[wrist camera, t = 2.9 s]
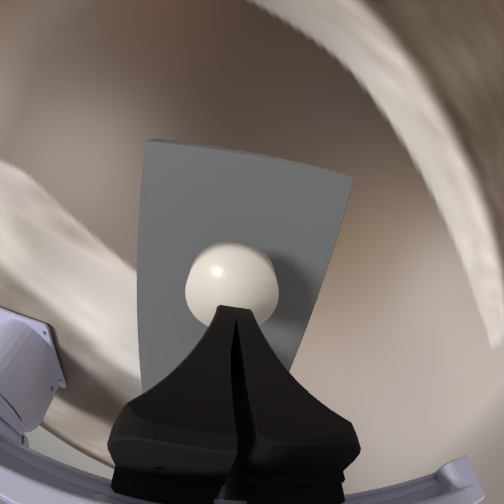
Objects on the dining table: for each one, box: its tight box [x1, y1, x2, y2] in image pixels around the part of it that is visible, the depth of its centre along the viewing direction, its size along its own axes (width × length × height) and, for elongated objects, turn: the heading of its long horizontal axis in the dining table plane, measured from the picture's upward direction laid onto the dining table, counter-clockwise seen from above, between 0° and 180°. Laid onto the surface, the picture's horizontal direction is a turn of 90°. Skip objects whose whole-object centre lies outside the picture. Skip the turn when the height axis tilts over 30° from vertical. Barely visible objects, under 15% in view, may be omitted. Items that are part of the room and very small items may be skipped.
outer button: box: [185, 240, 279, 327], centre depth 15 cm, size 4×4×3 cm
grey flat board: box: [137, 139, 354, 393], centre depth 22 cm, size 26×12×2 cm, turn 169°
